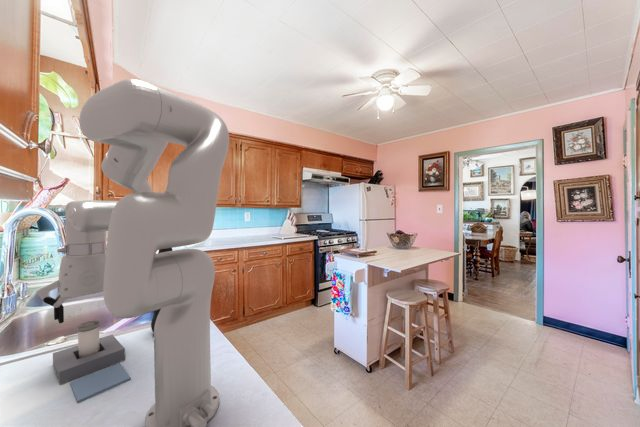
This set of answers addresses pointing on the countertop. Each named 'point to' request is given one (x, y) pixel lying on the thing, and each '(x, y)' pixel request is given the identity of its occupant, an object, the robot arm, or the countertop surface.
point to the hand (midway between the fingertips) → (87, 314)
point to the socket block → (87, 360)
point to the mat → (99, 382)
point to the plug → (88, 338)
